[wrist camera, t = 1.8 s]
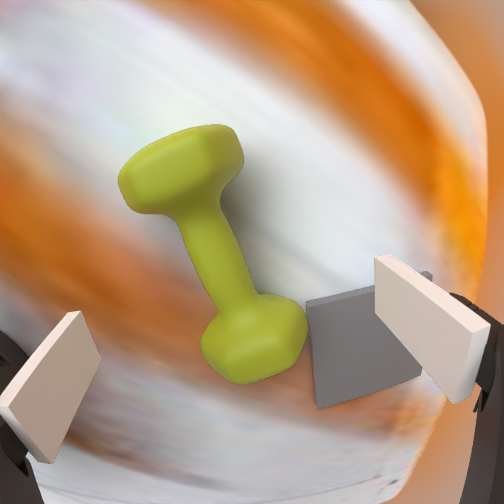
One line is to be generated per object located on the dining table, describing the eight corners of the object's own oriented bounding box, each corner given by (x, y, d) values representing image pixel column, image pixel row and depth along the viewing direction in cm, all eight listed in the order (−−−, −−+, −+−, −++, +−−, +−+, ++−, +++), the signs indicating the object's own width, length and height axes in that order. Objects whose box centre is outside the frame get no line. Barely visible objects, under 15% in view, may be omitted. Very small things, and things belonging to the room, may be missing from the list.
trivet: (314, 402, 29) (317, 409, 28) (305, 301, 25) (308, 307, 24) (416, 370, 29) (420, 375, 28) (426, 271, 26) (432, 274, 25)
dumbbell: (301, 315, 26) (326, 366, 19) (213, 348, 26) (213, 406, 19) (228, 120, 21) (233, 102, 14) (127, 164, 21) (89, 167, 14)
